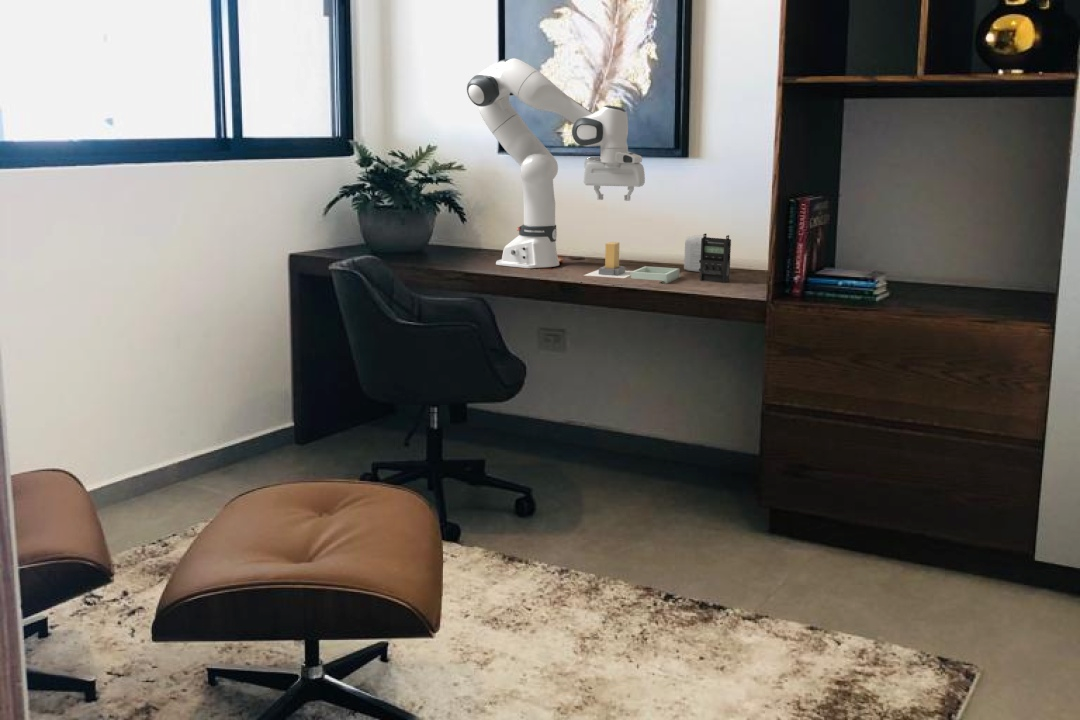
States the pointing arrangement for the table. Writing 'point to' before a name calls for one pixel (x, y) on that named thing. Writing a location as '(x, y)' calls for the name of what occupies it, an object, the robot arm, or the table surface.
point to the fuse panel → (611, 272)
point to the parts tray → (656, 274)
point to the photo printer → (693, 253)
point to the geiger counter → (715, 259)
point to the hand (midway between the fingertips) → (613, 200)
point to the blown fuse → (612, 255)
